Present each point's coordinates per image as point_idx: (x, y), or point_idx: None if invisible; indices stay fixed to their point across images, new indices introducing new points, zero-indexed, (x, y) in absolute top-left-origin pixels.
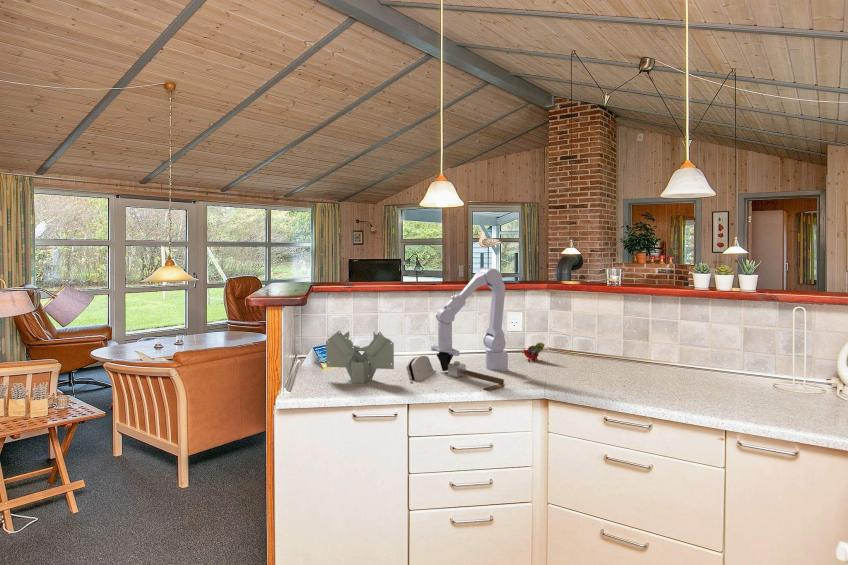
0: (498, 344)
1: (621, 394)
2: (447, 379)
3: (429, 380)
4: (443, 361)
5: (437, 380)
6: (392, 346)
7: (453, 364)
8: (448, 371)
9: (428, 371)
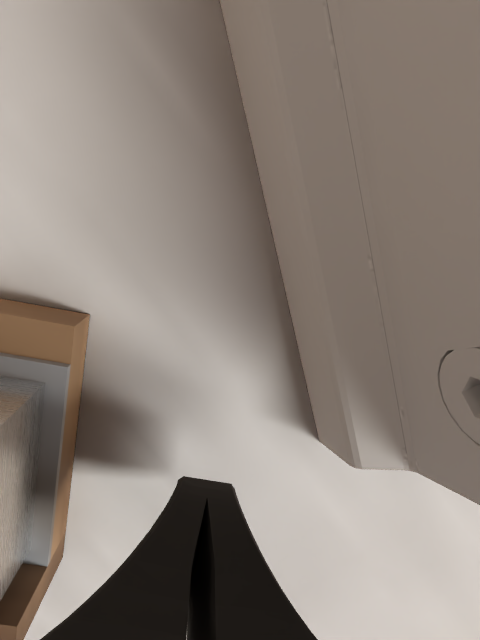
0: None
1: None
2: None
3: (222, 100)
4: (137, 594)
5: (121, 182)
6: None
7: None
8: (6, 410)
9: (383, 281)
